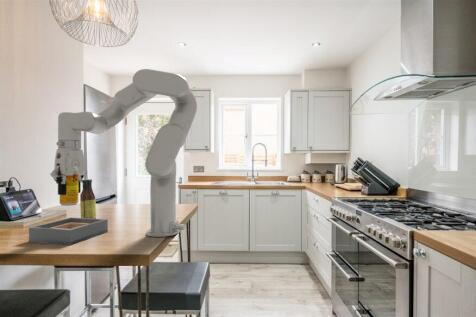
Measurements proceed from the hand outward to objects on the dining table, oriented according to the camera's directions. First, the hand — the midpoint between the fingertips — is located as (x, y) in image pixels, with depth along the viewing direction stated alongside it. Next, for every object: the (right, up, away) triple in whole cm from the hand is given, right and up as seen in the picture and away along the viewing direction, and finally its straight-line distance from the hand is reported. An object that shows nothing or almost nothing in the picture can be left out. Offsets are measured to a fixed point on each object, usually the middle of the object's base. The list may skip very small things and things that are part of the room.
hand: (69, 193), depth 107 cm
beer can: (0, -5, 0) cm, 5 cm away
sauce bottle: (-6, -17, +24) cm, 30 cm away
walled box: (+1, -16, 0) cm, 16 cm away
